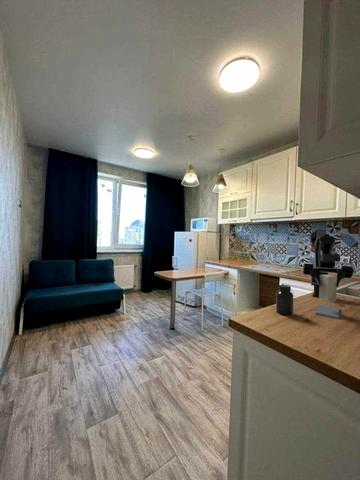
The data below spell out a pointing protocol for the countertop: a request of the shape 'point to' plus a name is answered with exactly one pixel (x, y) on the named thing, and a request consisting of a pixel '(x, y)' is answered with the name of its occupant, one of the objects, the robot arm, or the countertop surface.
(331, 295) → the box
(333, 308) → the mat
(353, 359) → the countertop surface
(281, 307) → the supplement bottle
